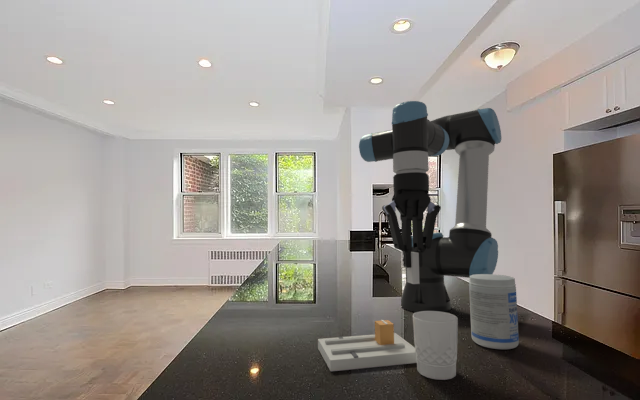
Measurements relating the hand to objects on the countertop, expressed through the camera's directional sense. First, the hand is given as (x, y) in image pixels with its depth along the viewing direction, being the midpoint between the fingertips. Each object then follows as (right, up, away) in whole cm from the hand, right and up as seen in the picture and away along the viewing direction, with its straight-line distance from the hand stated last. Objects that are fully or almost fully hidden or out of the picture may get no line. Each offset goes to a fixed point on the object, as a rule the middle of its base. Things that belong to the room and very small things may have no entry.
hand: (413, 282), depth 75 cm
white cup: (+1, -14, -11) cm, 18 cm away
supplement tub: (+19, -14, +3) cm, 24 cm away
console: (-10, -14, -3) cm, 18 cm away
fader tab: (-6, -12, -2) cm, 14 cm away
